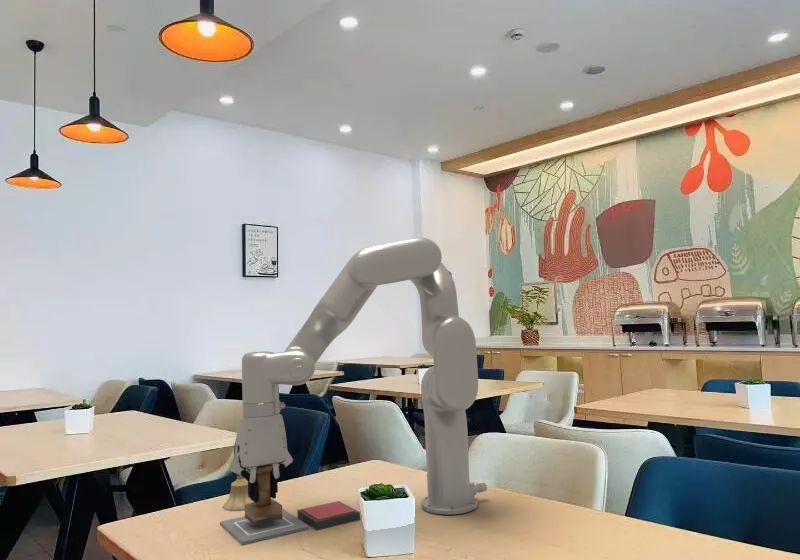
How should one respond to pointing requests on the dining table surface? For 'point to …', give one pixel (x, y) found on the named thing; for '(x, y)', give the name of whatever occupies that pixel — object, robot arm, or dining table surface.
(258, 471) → the stamp
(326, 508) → the ink pad
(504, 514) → the dining table surface
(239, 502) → the hand bell
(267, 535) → the board
